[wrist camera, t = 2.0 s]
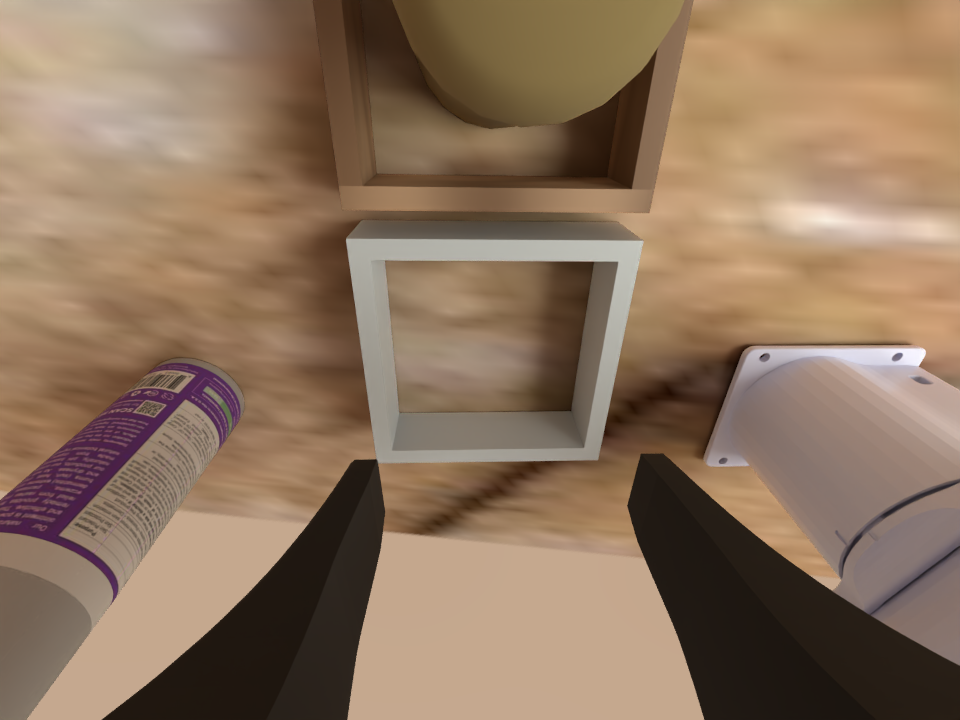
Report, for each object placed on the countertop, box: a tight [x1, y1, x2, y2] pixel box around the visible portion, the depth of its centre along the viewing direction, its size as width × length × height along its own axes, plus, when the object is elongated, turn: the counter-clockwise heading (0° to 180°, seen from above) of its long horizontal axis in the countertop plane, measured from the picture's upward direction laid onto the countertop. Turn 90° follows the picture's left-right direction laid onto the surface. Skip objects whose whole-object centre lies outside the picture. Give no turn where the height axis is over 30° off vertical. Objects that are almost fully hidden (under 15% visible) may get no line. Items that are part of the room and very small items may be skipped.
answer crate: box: [346, 220, 643, 463], centre depth 20 cm, size 11×11×3 cm
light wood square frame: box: [313, 0, 693, 213], centre depth 14 cm, size 11×11×3 cm
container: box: [0, 358, 244, 720], centre depth 16 cm, size 5×5×15 cm
